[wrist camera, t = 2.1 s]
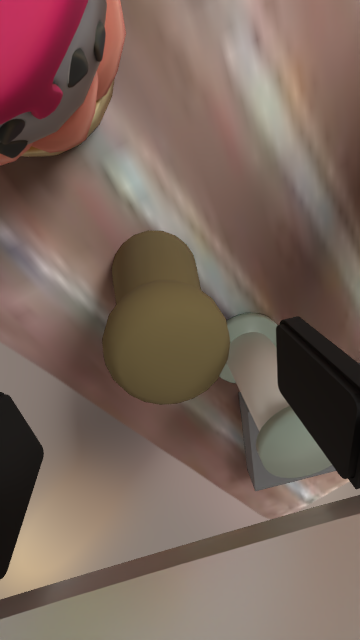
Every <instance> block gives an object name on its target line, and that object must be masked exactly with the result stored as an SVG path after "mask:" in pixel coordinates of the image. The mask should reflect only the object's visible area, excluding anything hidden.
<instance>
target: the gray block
mask: <svg viewBox="0 0 360 640" xmlns="http://www.w3.org/2000/svg"><path fill="white" fill-rule="evenodd" d="M359 364H360V363H359ZM238 393H239V401H240V410H241V419H242V427H243V436H244V445H245V454H246V462H247V470H248V473H249V475H250V478H251V481H252V483H253V486H254V489H255V491H258V490H262V489H266V488H270V487H274V486H278V485H282V484H286V483H290V482H294V481H298V480H302V479H305V478H309V477H313V476H317V475H321V474H325V473H329V472H333V471H336V470H335V468H334V467H333V465H331V466H329V467H327V468H326V469H324V470H322V471H320V472H317V473H315V474H312V475H308V476H304V477H299V478H283V477H278V476H275V475H273V474H271V473H269V472H268V471H267V470H266V469H265V467H264V466H263V463H262V461H261V459H260V457H259V454H258V452H257V449H256V440H257V436H258V433H259V430H258V428H257V426H256V423H255V421H254V419H253V417H252V415H251V413H250V411H249V409H248V407H247V405H246V402H245V400H244V398H243V396H242V394H241V392H238Z"/></svg>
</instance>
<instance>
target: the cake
mask: <svg viewBox="0 0 360 640" xmlns="http://www.w3.org/2000/svg"><path fill="white" fill-rule="evenodd" d="M125 35H126V31H125V25H124V19H123V14H122V8H121V3H120V0H0V166H1V165H4V164H7V163H10V162H13V161H16V160H17V159H18V158H19V157H20V156H24V157H40V156H56V155H58V154H61V153H63V152H65V151H67V150H69V149H72V148H74V147H76V146H78V145H80V144H81V143H82V142H83V141H85V140H86V138H87V137H88V136H89V135H90V134H91V133H92V132H93V131H94V130H95V129H96V128H97V126H98V125H99V124H100V122H101V120H102V118H103V115H104V113H105V111H106V109H107V106H108V104H109V102H110V99H111V97H112V93H113V85H114V77H115V75H116V73H117V71H118V67H119V62H120V58H121V53H122V49H123V44H124V40H125Z"/></svg>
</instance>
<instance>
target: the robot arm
mask: <svg viewBox="0 0 360 640" xmlns="http://www.w3.org/2000/svg"><path fill="white" fill-rule="evenodd" d="M276 349H277V382H278V388H279V391H280V393H281V394H282V396H283V397H284V399H285V400H286V401H287V403H288V404H289V405H290V407H291V408H292V410H293V411H294V412H295V414H296V415H297V417H298V418H299V419H300V421H301V422H302V424H303V425H304V426H305V428H306V429H307V431H308V432H309V433H310V435H311V436H312V438H313V439H314V440H315V442H316V443H317V444H318V446H319V447H320V449H321V450H322V451H323V453H324V454H325V456H326V457H327V458H328V460H329V461H330V463H331V464H332V465H333V467H334V468H335V470H336V471H337V472H338V474H339V475H340V476H341V477H342V478H344V479H347V478H348V479H349V481H350V482H351V483H352V485H353V486H354V487H355V489H359V488H360V364H359V363H357V362H356V361H355V360H353V359H352V358H351V357H350V356H348V355H347V354H346V353H345V352H343V351H342V350H341V349H339V348H338V347H337V346H336V345H334V344H333V343H332V342H331V341H329V340H328V339H327V338H325V337H324V336H323V335H322V334H320V333H319V332H318V331H317V330H315V329H314V328H313V327H312V326H310V325H309V324H308V323H306V322H305V321H304V320H303V319H301V318H300V317H293V318H289V319H285V320H282V321H281V322H280V325H278V326H277V327H276ZM43 454H44V453H43V448H42V445H41V444H40V442H39V441H38V439H37V438H36V436H35V435H34V433H33V431H32V430H31V428H30V427H29V425H28V424H27V422H26V421H25V419H24V417H23V416H22V414H21V413H20V411H19V410H18V408H17V406H16V405H15V404H14V402H13V400H12V399H11V397H10V396H9V395H5V394H4V393H2V392H0V579H2V578H3V577H4V576H5V574H6V572H7V570H8V567H9V563H10V560H11V557H12V554H13V551H14V548H15V545H16V542H17V538H18V535H19V532H20V528H21V526H22V522H23V519H24V516H25V513H26V510H27V507H28V504H29V501H30V497H31V494H32V491H33V488H34V485H35V482H36V479H37V476H38V472H39V469H40V466H41V463H42V460H43ZM0 640H360V495H358V496H354V497H351V498H347V499H343V500H339V501H336V502H332V503H328V504H324V505H321V506H317V507H313V508H310V509H306V510H303V511H299V512H296V513H292V514H289V515H285V516H282V517H279V518H275V519H272V520H269V521H265V522H261V523H258V524H254V525H251V526H248V527H244V528H241V529H237V530H234V531H230V532H227V533H223V534H220V535H216V536H213V537H210V538H206V539H203V540H199V541H196V542H192V543H189V544H186V545H182V546H179V547H176V548H172V549H169V550H165V551H162V552H158V553H155V554H152V555H148V556H145V557H141V558H138V559H135V560H131V561H128V562H125V563H121V564H118V565H114V566H111V567H108V568H104V569H101V570H98V571H94V572H91V573H87V574H84V575H81V576H77V577H74V578H71V579H68V580H64V581H61V582H58V583H54V584H51V585H47V586H44V587H41V588H38V589H34V590H31V591H28V592H24V593H21V594H18V595H14V596H11V597H8V598H5V599H1V600H0Z"/></svg>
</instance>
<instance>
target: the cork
mask: <svg viewBox="0 0 360 640" xmlns="http://www.w3.org/2000/svg"><path fill="white" fill-rule="evenodd" d="M112 278H113V286H114V293H115V299H116V306H115V308H114V309H113V310H112V312H111V313H110V314H109V317H108V320H107V324H106V327H105V331H104V334H103V338H102V344H103V354H104V360H105V364H106V366H107V368H108V370H109V372H110V374H111V376H112V378H113V380H114V381H116V382H117V383H118V384H119V385H120V386H121V387H122V388H123V389H124V390H125V391H126V392H127V393H128V394H130V395H131V396H133V397H135V398H138V399H140V400H142V401H144V402H149V403H154V404H160V405H162V404H177V403H180V402H183V401H187V400H190V399H193V398H195V397H196V396H198V395H200V394H201V393H203V392H205V391H206V390H208V389H209V388H210V386H211V385H212V384H213V383H214V382H215V381H216V380H217V379H218V378H219V376H220V374H221V372H222V370H223V368H224V366H225V364H226V362H227V360H228V355H229V349H230V336H229V331H228V327H227V322H226V319H225V317H224V316H223V314H222V313H221V311H220V310H219V308H218V307H217V305H216V304H215V302H214V301H213V299H212V298H211V297H209V296H208V295H206V294H205V293H204V292H202V291H201V288H200V282H199V277H198V272H197V267H196V263H195V259H194V255H193V254H192V252H191V251H190V249H189V248H188V246H187V245H186V244H185V243H184V242H183V241H181V240H180V239H179V238H178V237H176V236H175V235H172V234H169V233H166V232H164V231H145V232H142V233H139V234H136V235H134V236H132V237H131V238H130V239H128V240H127V241H126V242H124V243H123V244H122V246H121V247H120V249H119V250H118V251H117V253H116V254H115V257H114V261H113V265H112Z"/></svg>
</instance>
